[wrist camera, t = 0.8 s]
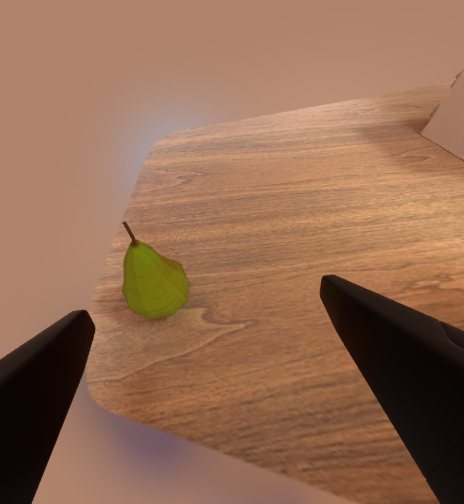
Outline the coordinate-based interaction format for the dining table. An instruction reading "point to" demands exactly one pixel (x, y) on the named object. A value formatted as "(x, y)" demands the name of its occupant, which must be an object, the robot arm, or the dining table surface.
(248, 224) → the dining table surface
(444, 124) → the beige slotted box
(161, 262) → the fruit
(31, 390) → the robot arm
